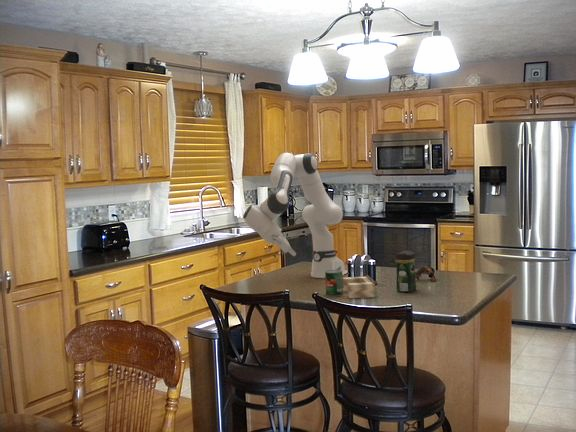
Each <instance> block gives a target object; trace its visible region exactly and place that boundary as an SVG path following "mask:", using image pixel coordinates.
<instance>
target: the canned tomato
mask: <svg viewBox="0 0 576 432" xmlns="http://www.w3.org/2000/svg"><path fill="white" fill-rule="evenodd" d="M343 278H344V277H343V276H342V270H328V271H325V278H324V279H325V296H327V297H330V298H331V297H333V298H334V297H342V296H343V295H344V288H343Z"/></svg>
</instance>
